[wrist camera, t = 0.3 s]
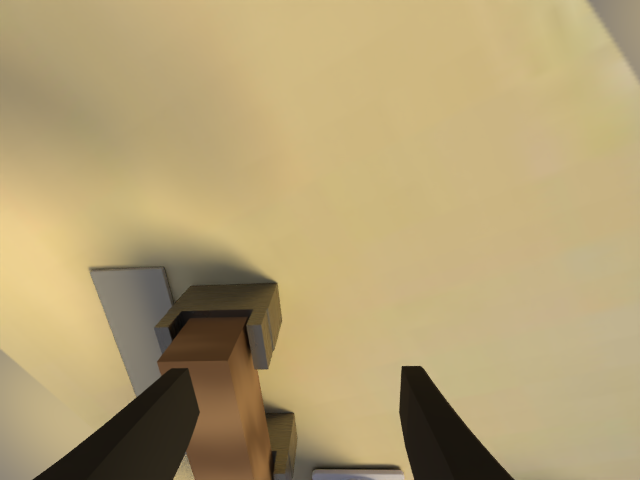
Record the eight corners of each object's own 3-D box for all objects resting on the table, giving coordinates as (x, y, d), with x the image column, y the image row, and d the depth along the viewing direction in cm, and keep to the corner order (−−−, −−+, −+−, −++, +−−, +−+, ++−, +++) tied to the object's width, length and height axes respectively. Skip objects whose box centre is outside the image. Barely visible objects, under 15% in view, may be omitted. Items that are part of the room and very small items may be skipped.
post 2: (297, 439, 25) (289, 501, 21) (228, 439, 25) (207, 500, 21) (294, 413, 24) (285, 473, 20) (222, 413, 24) (198, 473, 20)
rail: (275, 473, 22) (265, 533, 19) (230, 473, 22) (212, 532, 19) (248, 316, 17) (227, 360, 14) (189, 318, 18) (156, 362, 14)
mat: (214, 450, 26) (213, 454, 26) (160, 450, 26) (158, 454, 26) (163, 266, 20) (161, 269, 19) (92, 269, 20) (89, 271, 20)
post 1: (282, 320, 21) (269, 369, 17) (199, 322, 21) (166, 370, 17) (277, 283, 20) (262, 324, 16) (190, 285, 20) (152, 327, 16)
